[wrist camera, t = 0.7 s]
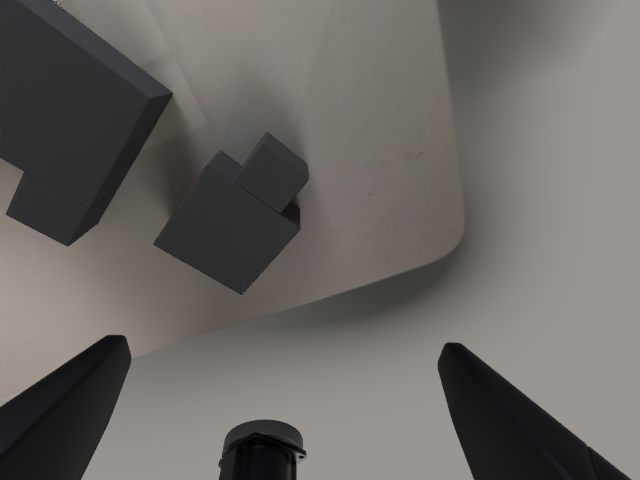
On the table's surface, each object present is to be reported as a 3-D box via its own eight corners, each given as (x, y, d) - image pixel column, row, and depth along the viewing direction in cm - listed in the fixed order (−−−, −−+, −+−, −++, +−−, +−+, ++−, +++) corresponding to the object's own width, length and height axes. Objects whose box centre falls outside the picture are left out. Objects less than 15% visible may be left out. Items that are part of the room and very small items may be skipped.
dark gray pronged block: (173, 93, 17) (151, 98, 14) (97, 224, 20) (67, 247, 18) (-44, -74, 13) (-128, -108, 11) (-93, 118, 17) (-166, 128, 14)
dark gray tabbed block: (326, 179, 20) (330, 196, 17) (248, 269, 23) (241, 295, 20) (245, 113, 18) (236, 121, 15) (170, 221, 20) (152, 244, 18)
